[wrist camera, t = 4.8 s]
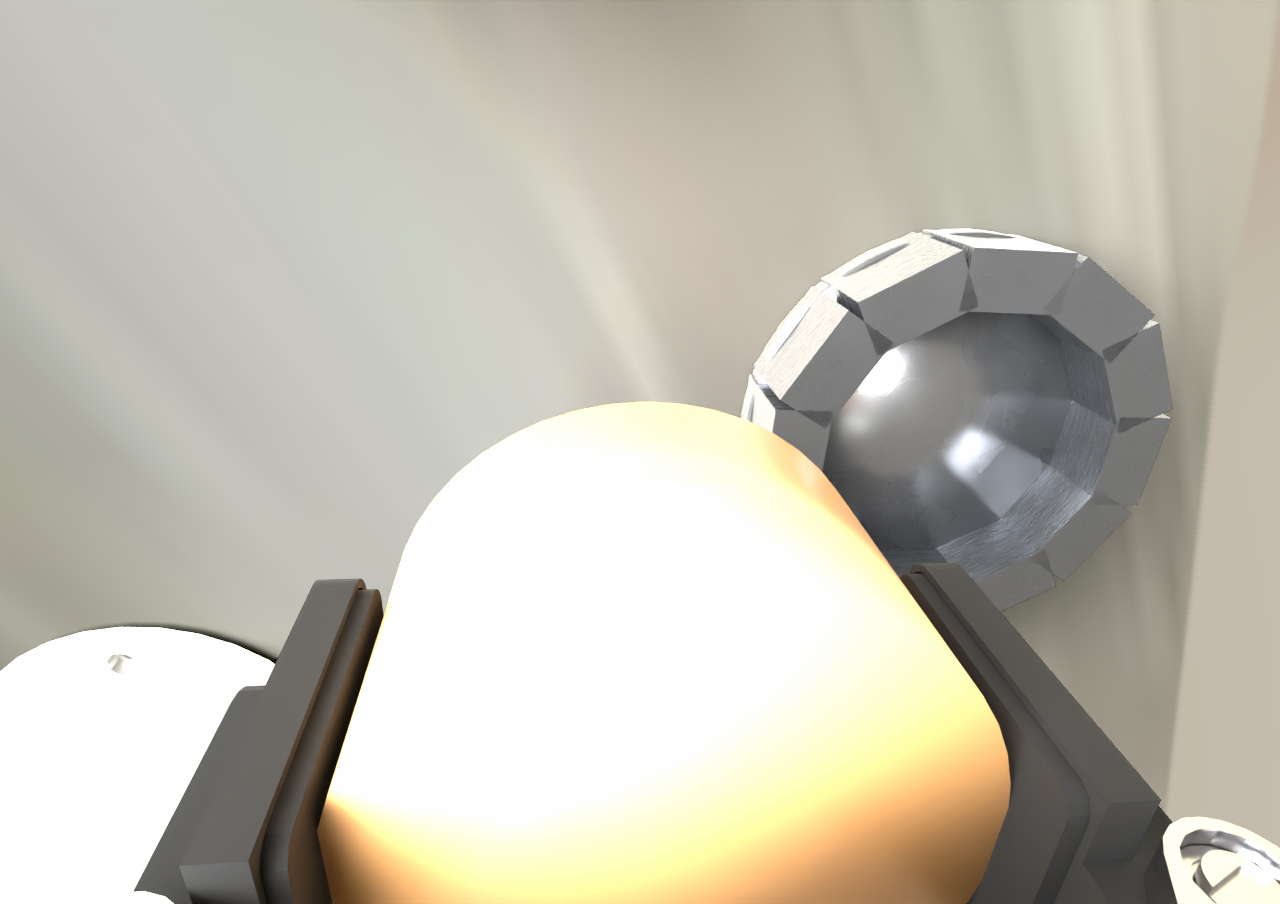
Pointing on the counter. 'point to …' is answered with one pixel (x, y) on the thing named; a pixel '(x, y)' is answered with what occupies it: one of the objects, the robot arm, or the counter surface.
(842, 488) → the faceted metal bowl
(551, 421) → the pale yellow rounded lump
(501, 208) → the counter surface
